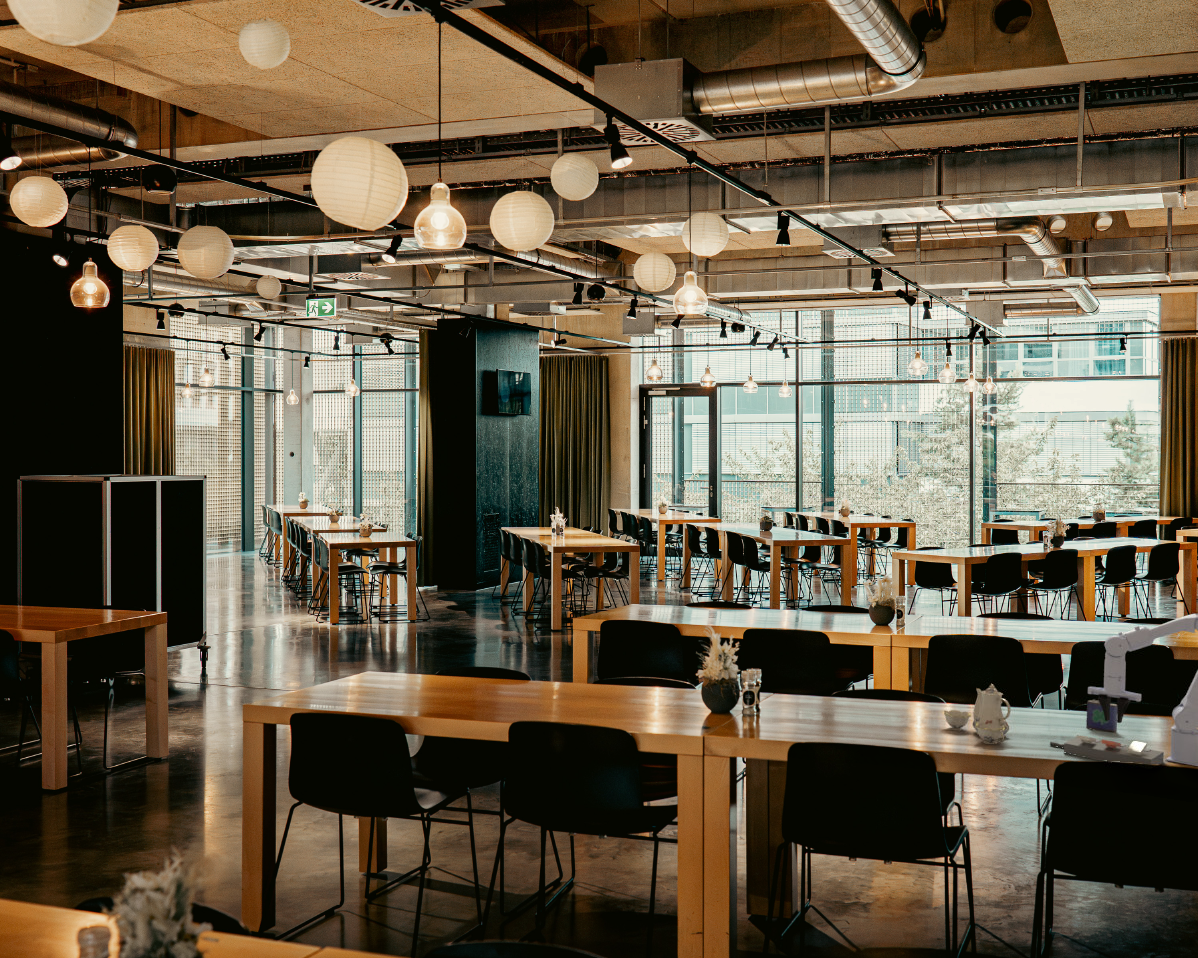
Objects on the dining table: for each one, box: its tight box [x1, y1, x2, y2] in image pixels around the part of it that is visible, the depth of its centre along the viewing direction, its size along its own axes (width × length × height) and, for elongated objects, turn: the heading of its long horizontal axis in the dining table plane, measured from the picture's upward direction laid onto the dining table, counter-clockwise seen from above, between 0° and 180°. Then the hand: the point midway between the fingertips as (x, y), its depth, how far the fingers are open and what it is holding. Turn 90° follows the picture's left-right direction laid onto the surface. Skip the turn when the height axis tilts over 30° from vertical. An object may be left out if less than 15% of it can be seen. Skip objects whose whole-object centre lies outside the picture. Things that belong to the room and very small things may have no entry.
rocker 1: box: [1076, 734, 1097, 743], centre depth 320 cm, size 4×6×2 cm, turn 138°
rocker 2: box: [1127, 740, 1148, 755], centre depth 311 cm, size 4×6×2 cm, turn 137°
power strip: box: [1049, 736, 1165, 765], centre depth 319 cm, size 30×12×3 cm, turn 47°
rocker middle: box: [1101, 739, 1122, 748], centre depth 315 cm, size 4×6×2 cm, turn 138°
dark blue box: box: [1085, 699, 1118, 733], centre depth 351 cm, size 9×3×11 cm, turn 51°
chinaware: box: [942, 683, 1012, 745], centre depth 340 cm, size 28×17×17 cm, turn 20°
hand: (1113, 721), depth 322 cm, fingers open, 3 cm apart
